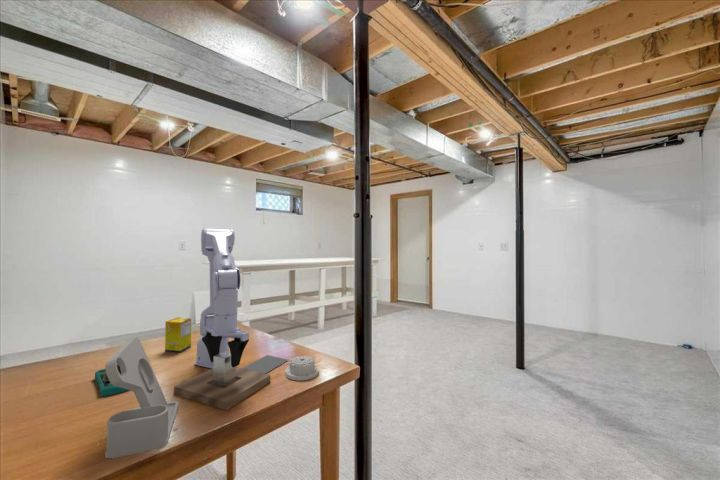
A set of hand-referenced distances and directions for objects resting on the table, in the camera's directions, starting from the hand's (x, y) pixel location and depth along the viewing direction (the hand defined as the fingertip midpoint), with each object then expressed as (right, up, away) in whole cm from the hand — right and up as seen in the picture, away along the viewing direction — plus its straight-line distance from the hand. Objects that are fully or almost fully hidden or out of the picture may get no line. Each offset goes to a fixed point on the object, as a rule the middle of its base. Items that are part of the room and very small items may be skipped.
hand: (224, 363), depth 83 cm
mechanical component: (+19, -8, +10) cm, 23 cm away
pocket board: (0, -7, 0) cm, 7 cm away
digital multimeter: (-31, -7, +1) cm, 32 cm away
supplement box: (-29, -6, +27) cm, 40 cm away
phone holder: (-9, -7, -18) cm, 21 cm away
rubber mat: (+6, -7, +15) cm, 17 cm away
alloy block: (0, -7, 0) cm, 7 cm away
